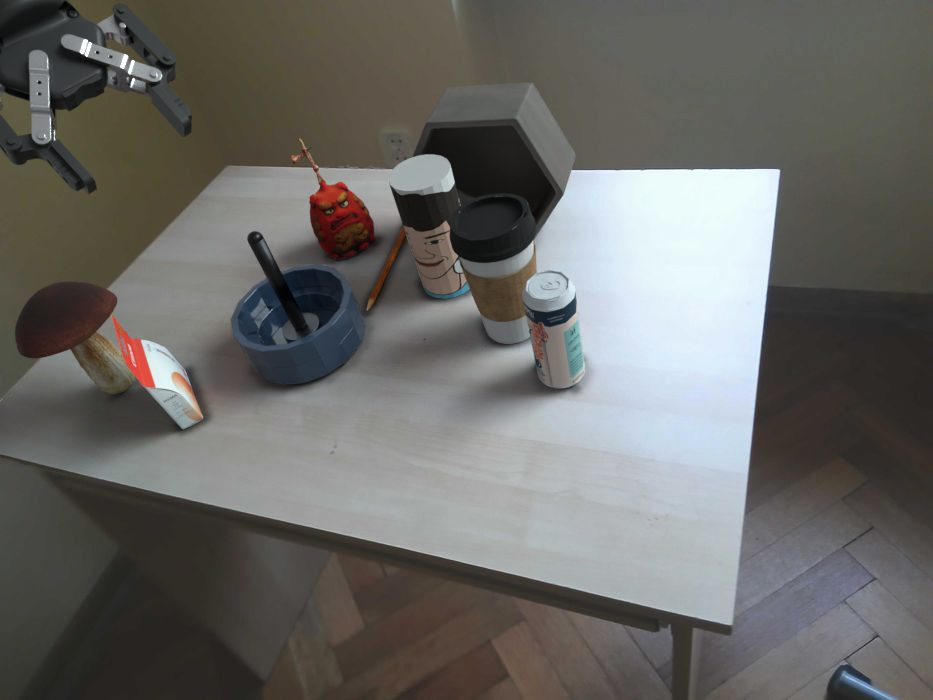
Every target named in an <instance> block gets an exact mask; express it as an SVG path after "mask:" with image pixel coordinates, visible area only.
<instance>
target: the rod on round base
mask: <svg viewBox="0 0 933 700" xmlns="http://www.w3.org/2000/svg"><path fill="white" fill-rule="evenodd" d="M246 241H247V243H248V245H249V247H250V249H251V250H252V253H253V255H254V256H255V258H256V260H257V262H258V264H259V266H260V268H261V270H262V271H263V273H264V275H265V278H267V279H268V281H269V283H270V285H271V286H272V288H273V290H274V292H275V294H276V296H277V298H278V300H279V302H280V303H281V305H282V307H283V309H284V311H285V313H286V315H287V317H288V318H289V320H288V321H287V322H286V323H285V325H284V326H283V329H282V334H283V336H284V338H285V340H286V341H287V343H291V342H294V341H297V340H299V339H302V338H305V337H308V336H309V335H311V334H312V333H314V332H315V331H317V330H318V329H320V328H321V327H323V326H322V324H321V322H320V320H319V318H318V316H317V315H315V314H313V313H302V312H301V310H300V308H299V306H298V304H297V302H296V300H295V298H294V296H293V294H292V292H291V290H290V288H289V286H288V284H287V282H286V280H285V278H284V276H283V275H282V273H281V271H282V270H281V269H280V267H279V264H278V263H277V261H276V259H275V257H274V255H273V252H272V251H271V249H270V247H269V245H268V243H267V241H266V239H265V237H264V235H263V234H262V233H261V232H260V231H257V230H253V231H251V232H249V233H248V235H247V238H246Z"/></svg>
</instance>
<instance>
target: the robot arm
mask: <svg viewBox="0 0 933 700" xmlns="http://www.w3.org/2000/svg"><path fill="white" fill-rule="evenodd" d="M108 40H113V41H114V42H116V43H118V44H120V45H121V46H122V47H128V46H129V47H130V48H131V49H132V50H133V51H134V52H135V53H136V54H138V56H139V57H140V58H141V59H142V60H143V61H144V62H145V63H141V62H139V61H136V60H133V59H132V57H130V56H129V55H128V54H125V53H123V52H120V51H118V50H117V51H116V50H114V49H111V48H108V47H107V41H108ZM176 64H177V57H176V55H175V53H173V51H172V50H171V49H170V48H169V47H168V46H167V45H166V44H165V43H164V42H163V41H162V40H161V39H160V38H159V37H158V36H157V35H156V33H154V32H153V31H152V29H150V28H149V27H148V26H147V25H146V24H145V22H143V20H142V19H141V18H140V17H139V16H138V15H137V14H136V13H135V12H134V11H133V10H132V9H131V8H130V7H129V6H128V5H127V4H124V3H120V2H119V3H116V4H114V5H113V7H112V14H111V15H110V16H108V17H106V18H105V19H103V20H101V21H99V22H98V23H96V22H93V21H92V20H89V19H87V18H85V17H84V16H83V15H82V14H81V13H80V12H79V11H78V10H77V8H76V7H75V6H74V5H73V3H72V2H70V0H0V97H1V96H2V94H4V93H5V94H6V95H8V96H11V97H14V98H17V99H20V100H24V101H26V102H29V109H30V115H31V117H30V118H31V119H30V120H31V126H30V127H31V128H30V129H31V133H27V134H22V135H21V134H20V135H18V133H17V132H16V131H15V130H14V128H12V126H11V125H10V124H9V122H8V121H7V120H6V119H5V118H4V116H3V115H2V114H1V113H0V151H1V152H2V153H3V154H4V155H5V156H6V158H7V159H8V160H9V162H11V163H12V164H13V165H16V166H23V165H25V164H26V163H27V162H28V161H31V160H42V161H44V162H46V163H47V164H48V165H49V166H50V167H51V168H52V170H53V171H54V172H55V173H56V174H57V176H58V177H60V178H61V179H62V181H63V182H64V183H65V184H66V185H67V186H68V187H69V188H70V189H72V190H74V191H76V192H79V191H81V190H83V191H84V193H86V194H87V195H90V194H92V193H94V192H95V191H98V187H97V183H96V180H95V178H94V177H93V176H92V174H91V173H90V172H89V171H88V170H87V169H86V168H85V167H84V166H83V164H82V163H81V162H80V161H79V160H78V159H77V158H76V157H75V156H74V154H73V153H72V152H71V151H70V150H69V149H68V148H67V147H66V145H64V143H63V142H62V141H61V140H60V139H57V131H58V127H57V126H58V125H57V111H64V110H66V111H67V112H71V111H73V110H75V109H77V108H78V107H79V106H80V105H82V104H83V102H84V101H86V100H89V99H93V98H94V99H95V98H97V97H99V96H100V95H102V94H105V88H110V89H114V90H116V91H118V92H119V91H120V92H122V93H129V92H132V93H136V94H140V95H142V96H146V97H149V98H151V103H152V105H153V106H154V107H155V108H156V109H157V110H158V112H159V113H160V114H161V115H162V116H163V117H164V118H165V120H167V122H168V123H169V124H170V125H171V126H172V127H173V129H174V130H175V131H176V132H177V133H178V134H179V135H180V137H182V138H185V137H187V136H189V135H190V134H191V133H192V129H193V128H192V127H193V125H192V121H193V120H192V117H193V114H192V111H191V109H190V108H189V106H188V105H187V104H186V103H185V102H184V100H183V99H182V98H181V97H180V96H179V95H178V94H177V93H176V92H175V91H174V89H173V88H172V87H171V86H170V85H169V84H170V82H173V81H175V80H176V77H177V71H176ZM109 68H110V69H109ZM111 69H112V70H111ZM3 108H4V106H3V102H2V100H1V99H0V112H1V111H2V110H3Z"/></svg>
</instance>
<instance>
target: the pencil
mask: <svg viewBox="0 0 933 700" xmlns="http://www.w3.org/2000/svg"><path fill="white" fill-rule="evenodd" d="M405 238H406V233H405V230H404V227H403V226H402V228H401V230H400V232H399V235H398V237H397V239H396V241H395V243H394V245H393V247H392V249H391V252H390V254H389V256H388V257H387V260H386V262H385V264H384V266H383V267H382V271H381V273H380V275H379V276H378V279H377V281H376V283H375V285H374V287H373V289H372V292H371V294H370V296H369V298H368V300H367V305H366V311H369V310H370V308H372V306H374V304H375V301H376V299H377V297H378V295H379V293H380V291H381V288H382V286H383V284H384V282H385V280H386V278H387V276H388V274H389V271H390V270H391V267H392V265H393V263H394V261H395V259H396V256H397V254H398V252H399V250H400V248H401V246H402V244H403V241H404V240H405Z"/></svg>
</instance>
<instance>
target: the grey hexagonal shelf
mask: <svg viewBox="0 0 933 700" xmlns="http://www.w3.org/2000/svg"><path fill="white" fill-rule="evenodd" d="M425 154H435V155H439V156H443V157H444V158H446V159H447V160H448V161H449V163H450V165H451V169H452V173H453V177H454V181H455V185H456V189H457V193H458V197H459V201H460V205H462V204H464V203H465V202H467V201H469V200H471V199H474V198H477V197H480V196H484V195H490V194H499V193H507V194H515V195H519V196H521V197H523V198H524V199H525V200H526V201H527V203H528V205H529V208H530V211H531V214H532V215H533V217H534V219H535V225H536V235H535V238H534V239H533V241H534V242H535V240H536V238H537V236H538V234H539V233H540V232H541V230H542V228H544V225H545V224H546V223H547V221H548V220H549V218H550V216H551V215H552V213H553V212H554V210H555V209H556V207H557V206H558V205H559V203H560V201H561V200H562V198H563V196H564V195H565V192H566V189H567V186H568V183H569V180H570V176H571V172H572V170H573V166H574V164H575V161H576V157H577V154H576V152H575V151H574V149H573V147H572V146H571V144H570V141H568V139H567V137H566V136H565V133H564V132H563V131H562V128H561V127H560V125H559V124H558V122H557V120H556V119H555V118H554V116H553V114H552V112H551V110H550V109H549V107H548V106H547V104H546V102H545V100H544V99H543V97H542V95H541V94H540V93H539V91H538V89H537V87H536V85H535V84H534V83H533V82H532V81H530V82H529V81H528V82H527V81H526V82H513V83H495V84H493V83H492V84H480V85H479V84H477V85H463V86H462V85H461V86H448V87H446V88H444V91H443V93H442V94H441V96H440V98H439V100H437V102H436V105H435V106H434V108H433V109H432V111H431V114H430V115H429V117H428V118H427V120H426V122H425V124H424V126H423V128H422V131H421V133H420V137H419V139H418V141H417V144H416V147H415V149H414V151H413V154H412V157H415V156H420V155H425Z"/></svg>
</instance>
